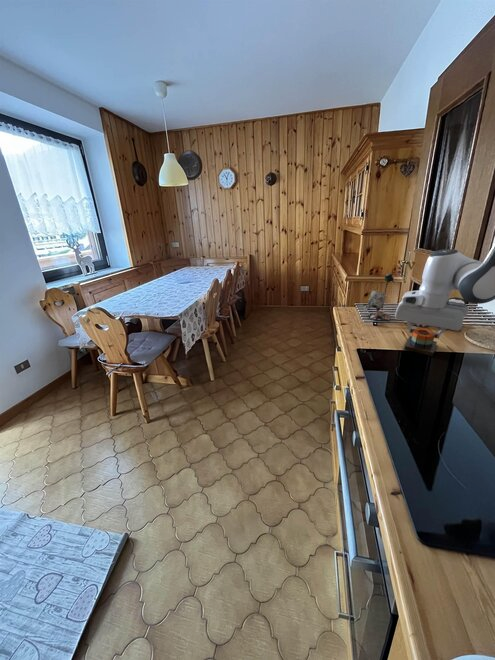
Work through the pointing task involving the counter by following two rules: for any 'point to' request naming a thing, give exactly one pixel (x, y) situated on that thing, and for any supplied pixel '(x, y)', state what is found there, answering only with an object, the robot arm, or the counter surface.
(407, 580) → the counter surface
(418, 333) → the orange ring
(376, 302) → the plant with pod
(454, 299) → the medicine bottle
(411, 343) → the charcoal ring
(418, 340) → the sage ring
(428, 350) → the spindle
